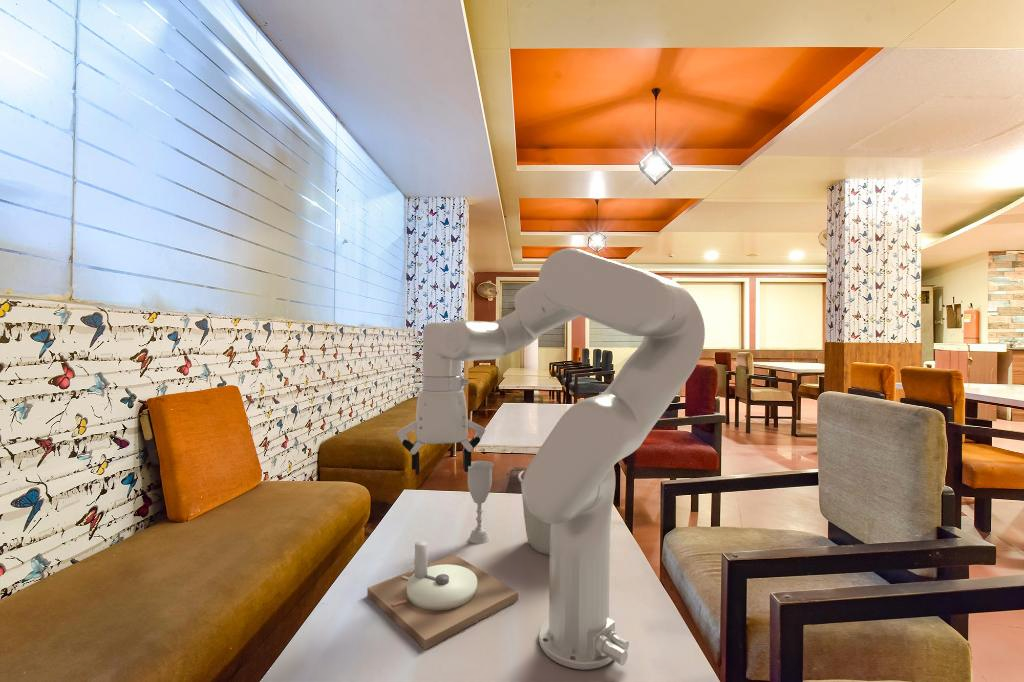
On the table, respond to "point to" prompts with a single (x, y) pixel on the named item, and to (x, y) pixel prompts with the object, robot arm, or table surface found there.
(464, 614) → the dial base
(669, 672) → the table surface
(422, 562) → the dial
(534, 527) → the canister
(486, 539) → the chalice
